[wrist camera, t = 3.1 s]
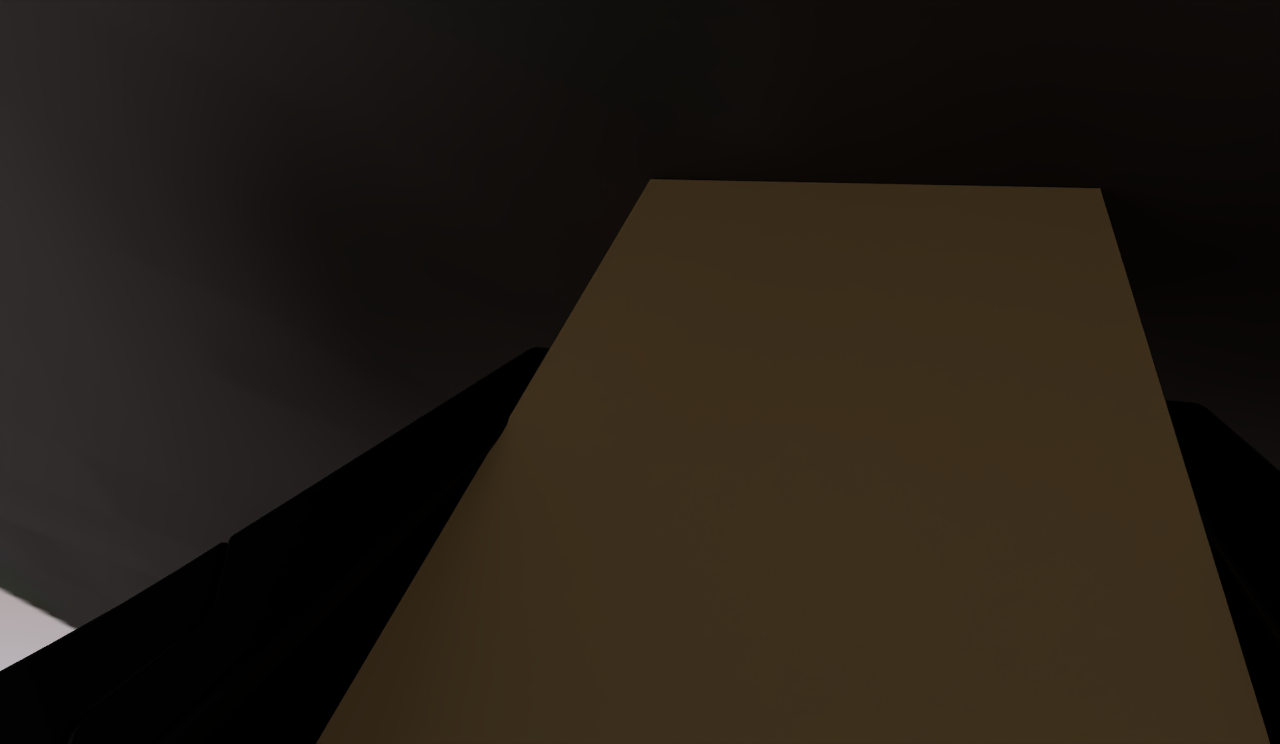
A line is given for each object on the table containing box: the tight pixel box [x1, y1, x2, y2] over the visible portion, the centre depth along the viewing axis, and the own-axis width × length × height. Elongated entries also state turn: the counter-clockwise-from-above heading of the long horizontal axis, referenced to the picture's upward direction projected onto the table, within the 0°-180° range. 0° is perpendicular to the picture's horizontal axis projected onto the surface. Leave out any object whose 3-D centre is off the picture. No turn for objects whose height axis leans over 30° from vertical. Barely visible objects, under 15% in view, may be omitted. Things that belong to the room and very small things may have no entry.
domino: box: [316, 179, 1270, 744], centre depth 7 cm, size 2×5×8 cm, turn 97°
